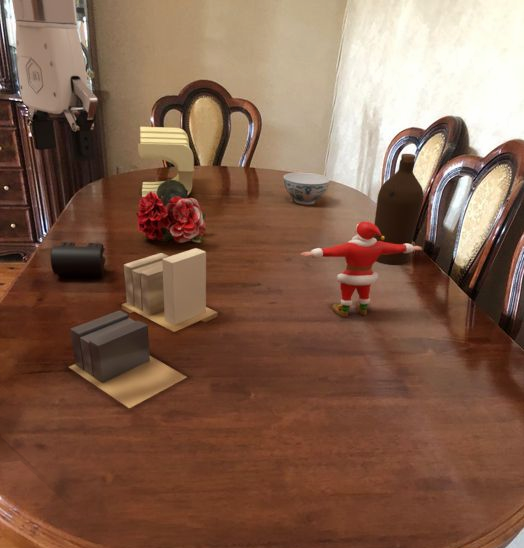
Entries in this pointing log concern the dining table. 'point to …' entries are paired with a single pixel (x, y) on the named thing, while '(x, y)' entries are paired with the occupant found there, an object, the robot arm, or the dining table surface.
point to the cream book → (184, 285)
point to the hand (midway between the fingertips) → (64, 154)
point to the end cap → (78, 260)
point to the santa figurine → (359, 264)
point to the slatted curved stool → (167, 154)
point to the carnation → (171, 214)
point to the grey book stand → (120, 359)
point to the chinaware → (306, 186)
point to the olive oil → (399, 209)
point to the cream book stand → (152, 292)
